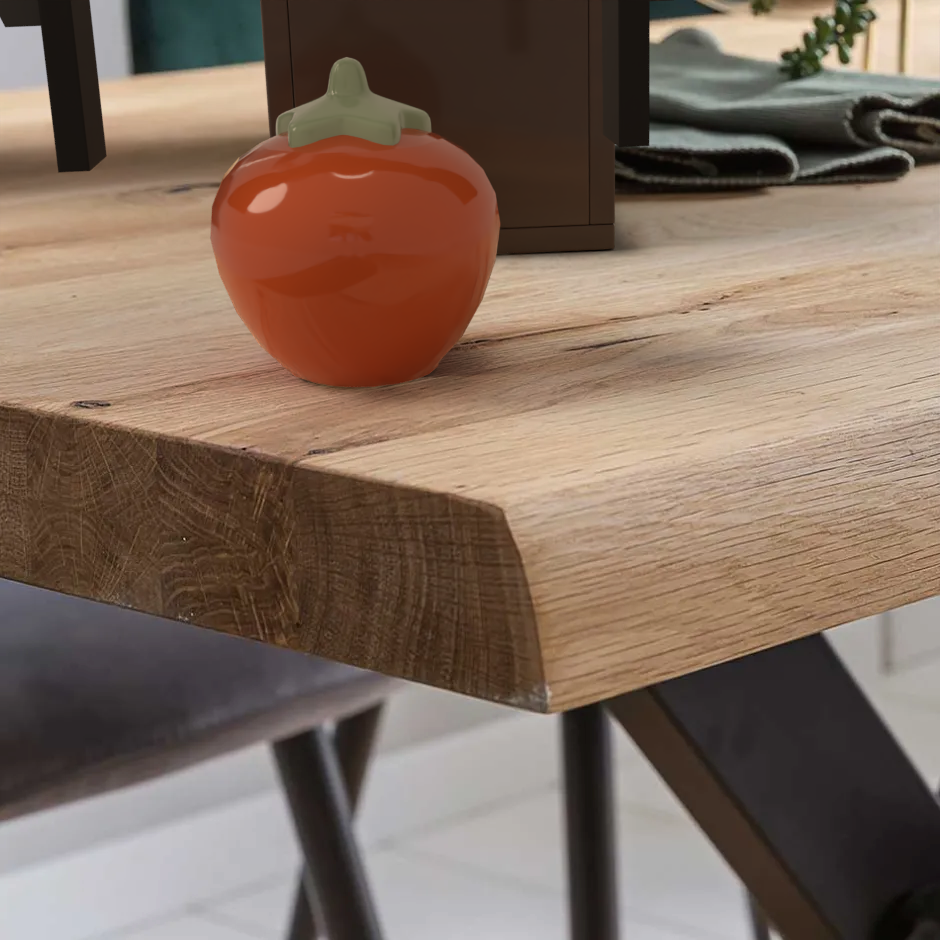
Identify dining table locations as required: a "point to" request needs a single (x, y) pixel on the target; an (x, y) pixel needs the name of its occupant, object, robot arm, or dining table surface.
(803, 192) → the dining table surface
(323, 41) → the cabinet
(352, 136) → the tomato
